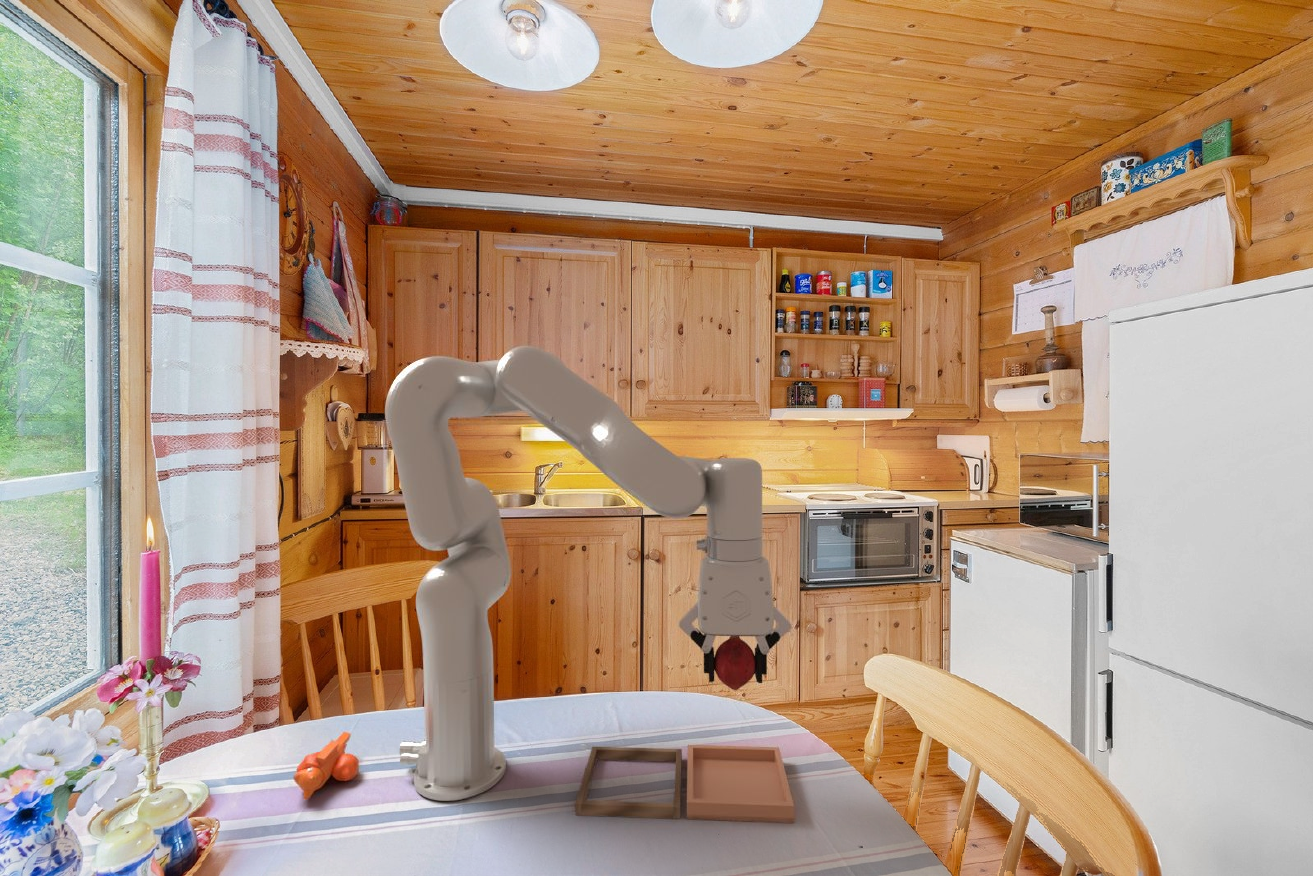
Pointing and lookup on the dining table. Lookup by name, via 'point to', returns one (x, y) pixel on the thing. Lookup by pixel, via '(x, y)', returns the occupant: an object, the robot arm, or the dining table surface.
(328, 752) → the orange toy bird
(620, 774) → the dining table surface
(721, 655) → the onion
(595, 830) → the dining table surface
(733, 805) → the terracotta tray
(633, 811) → the walnut frame
